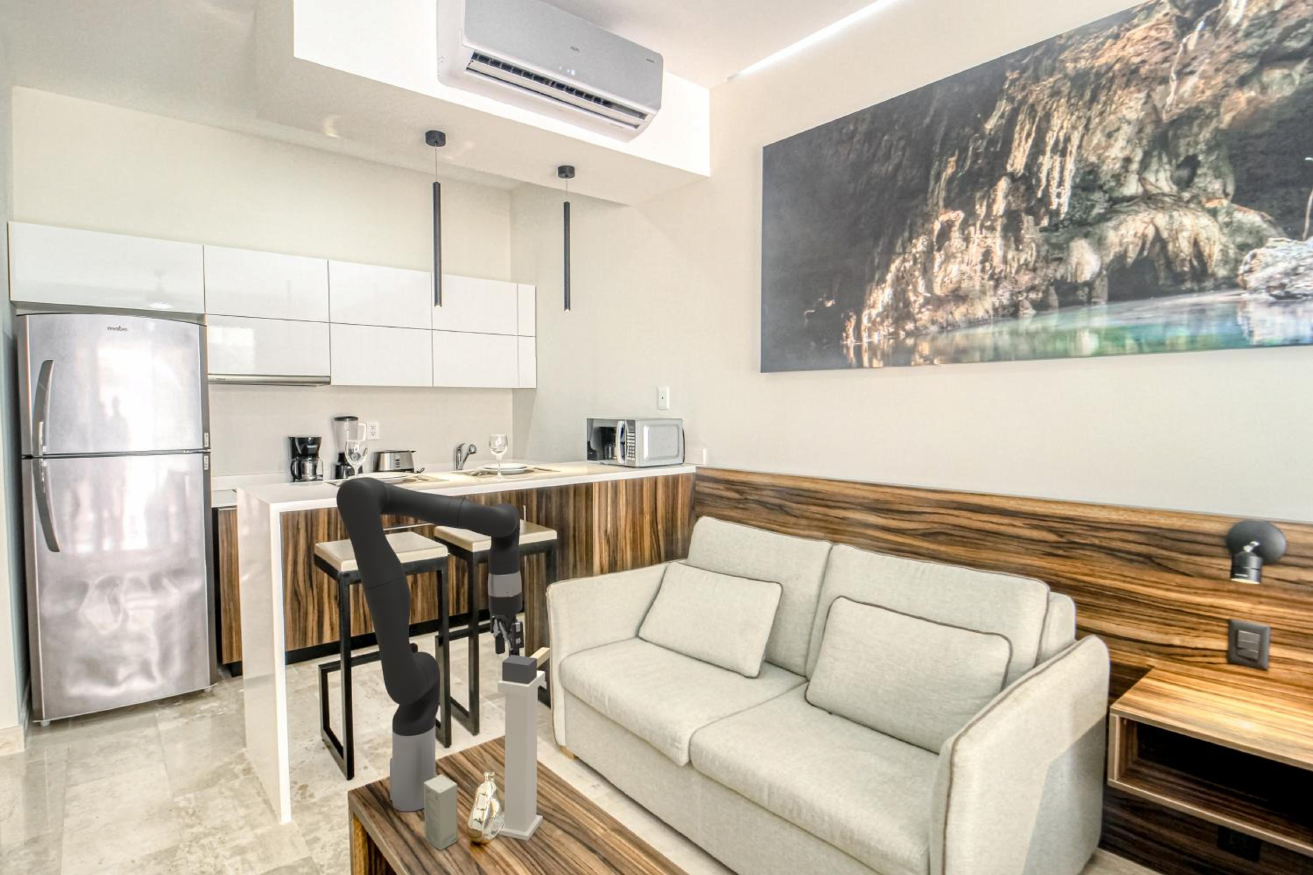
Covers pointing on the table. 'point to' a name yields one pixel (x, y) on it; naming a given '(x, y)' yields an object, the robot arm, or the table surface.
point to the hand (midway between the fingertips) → (507, 659)
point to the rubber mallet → (523, 666)
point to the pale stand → (521, 757)
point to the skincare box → (441, 811)
